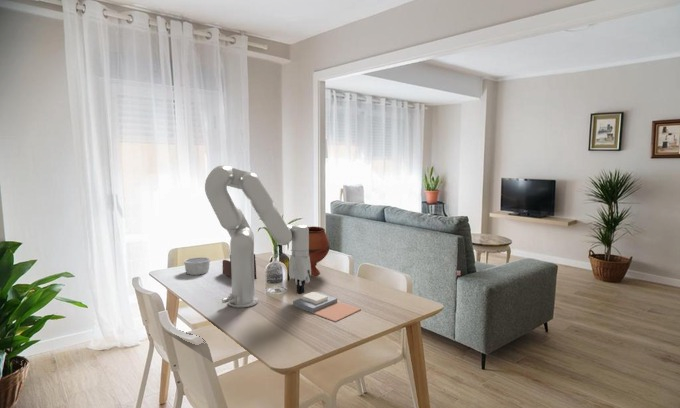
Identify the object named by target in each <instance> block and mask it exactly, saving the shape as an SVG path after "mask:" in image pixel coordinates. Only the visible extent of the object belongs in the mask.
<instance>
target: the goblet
mask: <svg viewBox="0 0 680 408" xmlns="http://www.w3.org/2000/svg"><path fill="white" fill-rule="evenodd" d="M308 228H309V257H310V263H311V277H315V276H318V275H320V274H321V272H320V270H319V269H318V268H317V264H318V263H319V262H321V261H322V260H324V259H325V258H326V256H327V255H328V253H329V251H330V242H329V239H328V236H327V233H326V229H325V228H324V227H320V226H308Z"/></svg>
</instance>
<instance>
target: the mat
mask: <svg viewBox="0 0 680 408" xmlns="http://www.w3.org/2000/svg"><path fill="white" fill-rule="evenodd" d="M361 310H362V309H361V308H359V307H356V306H352V305H349V304H346V303H343V302H341V301H337V303H335V304H333V305H331V306H328V307H326V308H323V309H321V310H319V311H316V312H314V313H312V314H313V315H315V316H319V317H320V318H324V319H327V320H329V321H331V322H335V323H336V322H339V321H340V320H344V319H345V318H347V317H349V316H352V315H353V314H355V313H357V312H360V311H361Z"/></svg>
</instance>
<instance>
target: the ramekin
mask: <svg viewBox="0 0 680 408" xmlns="http://www.w3.org/2000/svg"><path fill="white" fill-rule="evenodd" d="M210 263H211V259H210V258H208V257H203V256H199V257H197V256H196V257H191V258H187V259H184V261H183V264H184V269H185V272H186V274H187V275H189V274H190V276H199V275H200V274H201V275H203V274H204V273H205V274H207V273H208V272H209V270H210Z"/></svg>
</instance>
